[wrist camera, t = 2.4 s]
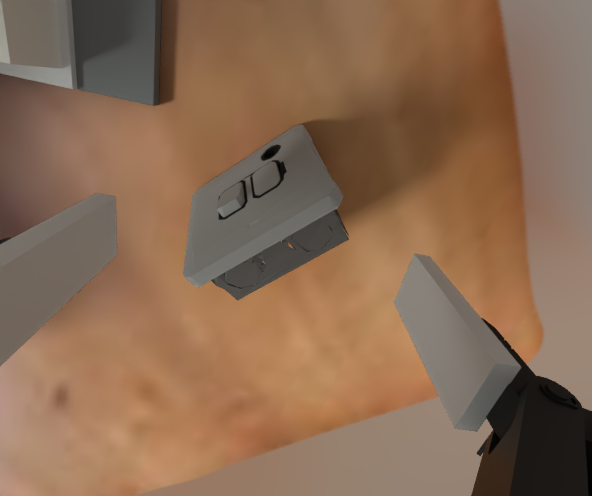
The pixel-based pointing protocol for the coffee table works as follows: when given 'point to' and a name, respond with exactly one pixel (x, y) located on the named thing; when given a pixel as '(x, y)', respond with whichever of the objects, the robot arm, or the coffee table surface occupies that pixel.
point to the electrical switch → (263, 217)
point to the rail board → (85, 45)
